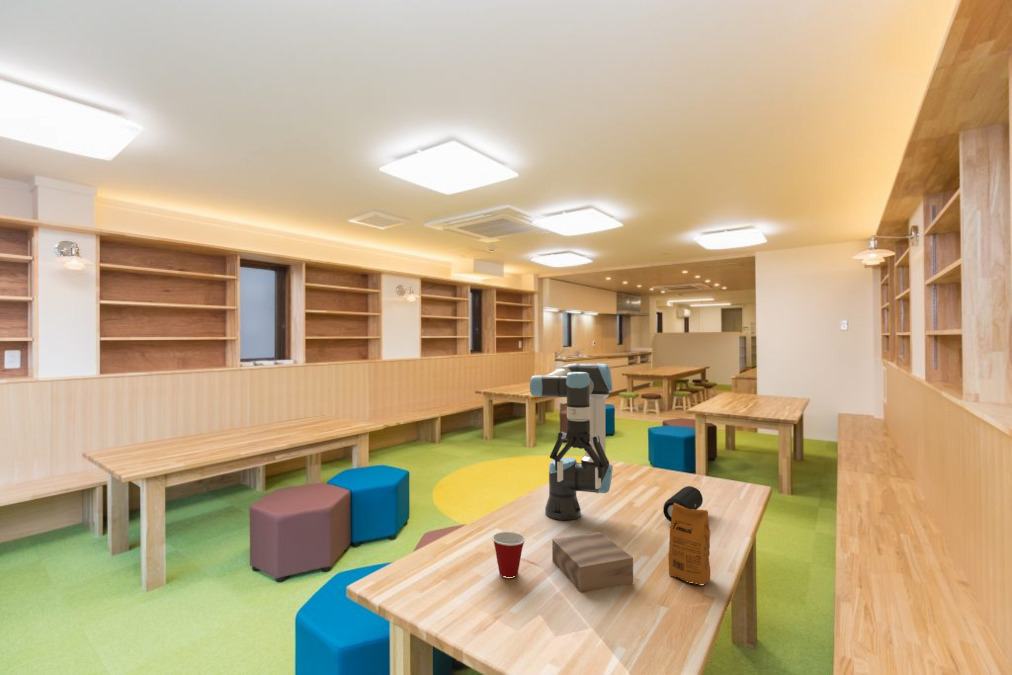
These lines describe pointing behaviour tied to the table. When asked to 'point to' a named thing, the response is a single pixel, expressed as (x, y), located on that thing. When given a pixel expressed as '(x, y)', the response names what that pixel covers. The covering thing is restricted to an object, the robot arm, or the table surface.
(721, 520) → the table surface
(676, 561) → the coffee package
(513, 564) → the plastic cup
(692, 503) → the portable speaker
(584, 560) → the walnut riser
